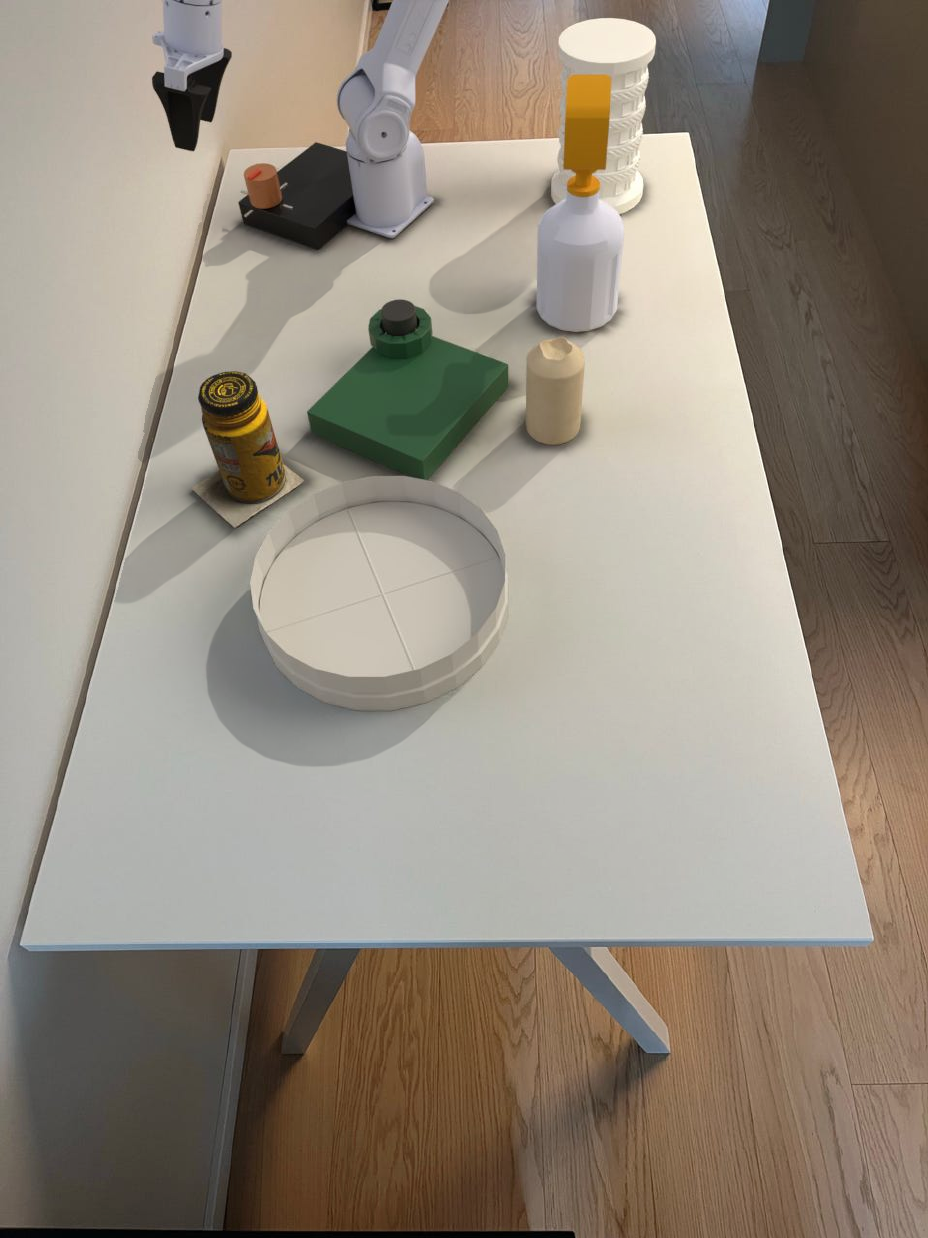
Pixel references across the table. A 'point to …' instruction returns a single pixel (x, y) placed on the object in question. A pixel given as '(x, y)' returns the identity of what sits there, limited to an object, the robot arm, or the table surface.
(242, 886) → the table surface
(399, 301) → the dark grey short cylinder
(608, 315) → the soap bottle
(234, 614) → the table surface
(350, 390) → the button base
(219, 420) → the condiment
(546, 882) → the table surface
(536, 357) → the candle
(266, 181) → the dial
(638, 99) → the decorative container
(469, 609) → the dish
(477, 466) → the table surface
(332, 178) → the panel
